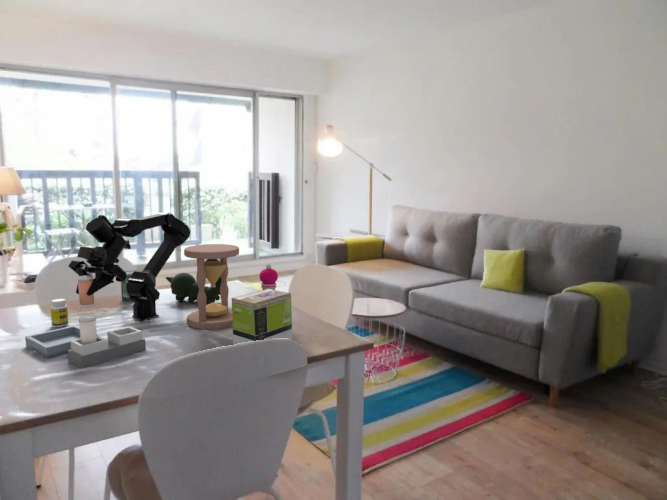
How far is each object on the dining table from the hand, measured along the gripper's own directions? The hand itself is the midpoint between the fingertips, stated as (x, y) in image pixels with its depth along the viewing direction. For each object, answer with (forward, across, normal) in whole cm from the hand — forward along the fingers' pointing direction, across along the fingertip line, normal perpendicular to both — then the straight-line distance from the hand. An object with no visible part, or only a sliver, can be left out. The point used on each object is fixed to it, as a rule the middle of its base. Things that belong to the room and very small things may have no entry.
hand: (82, 294), depth 151 cm
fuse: (+16, +16, -1) cm, 23 cm away
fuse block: (+15, +17, +4) cm, 23 cm away
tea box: (-4, +50, +23) cm, 55 cm away
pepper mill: (-16, +42, +36) cm, 57 cm away
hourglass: (-12, +24, +31) cm, 41 cm away
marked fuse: (+2, 0, +4) cm, 4 cm away
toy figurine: (-24, +3, +43) cm, 50 cm away
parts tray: (+15, 0, +4) cm, 15 cm away
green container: (-18, -21, +38) cm, 47 cm away
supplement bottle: (+6, -18, +14) cm, 23 cm away
